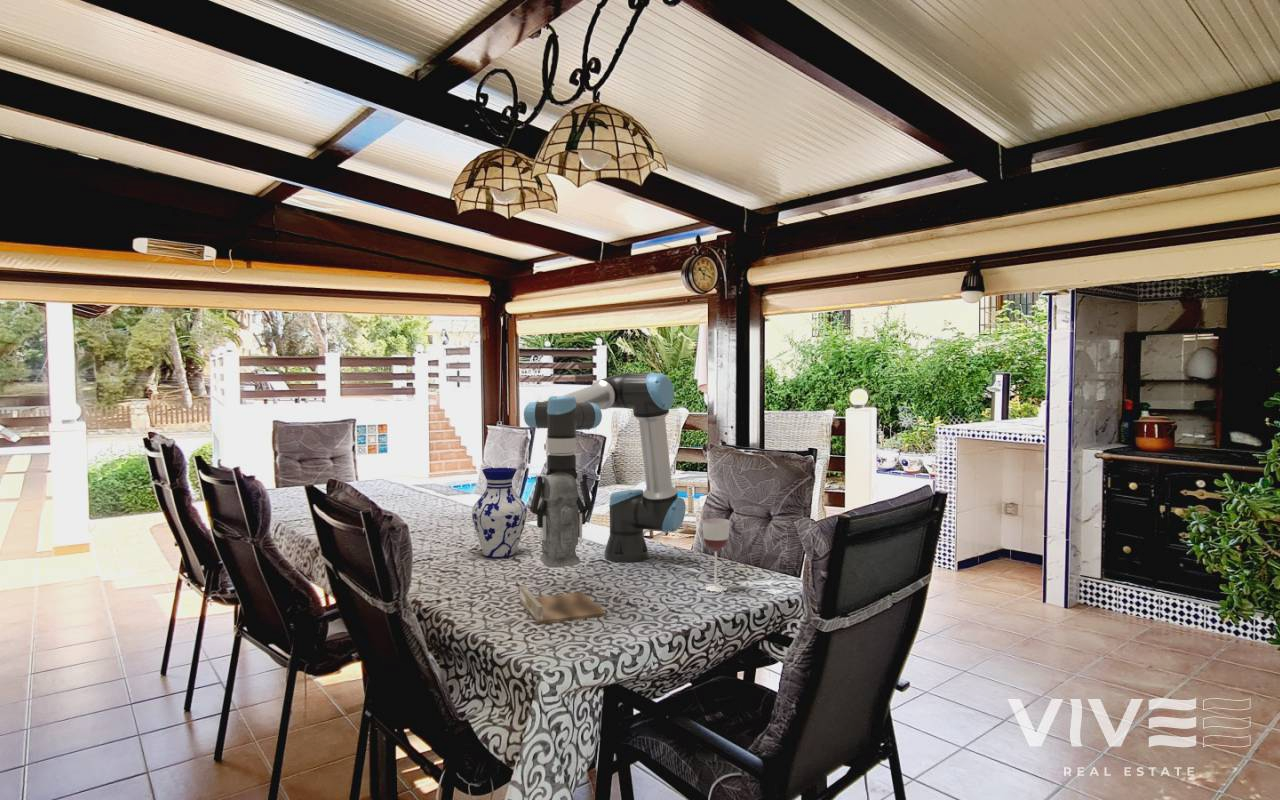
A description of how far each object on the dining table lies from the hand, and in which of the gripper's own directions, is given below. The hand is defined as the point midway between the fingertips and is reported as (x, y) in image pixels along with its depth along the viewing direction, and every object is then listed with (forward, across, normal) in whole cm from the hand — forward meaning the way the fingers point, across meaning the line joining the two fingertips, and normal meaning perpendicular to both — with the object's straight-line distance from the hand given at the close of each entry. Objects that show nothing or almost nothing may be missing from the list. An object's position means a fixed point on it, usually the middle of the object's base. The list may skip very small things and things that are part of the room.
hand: (561, 538), depth 192 cm
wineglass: (+19, -47, -1) cm, 51 cm away
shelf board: (+19, 0, 0) cm, 19 cm away
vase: (+19, +3, -67) cm, 70 cm away
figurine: (+7, 0, 0) cm, 7 cm away
